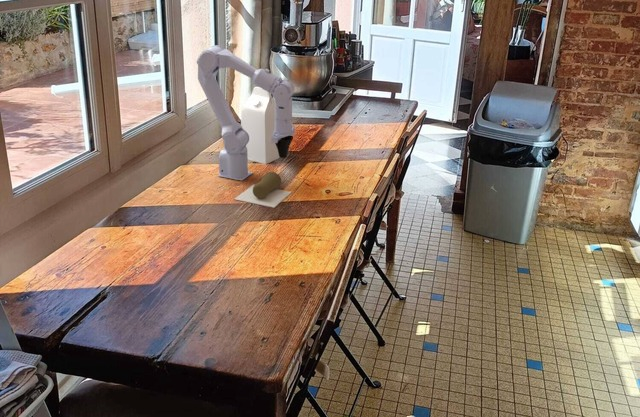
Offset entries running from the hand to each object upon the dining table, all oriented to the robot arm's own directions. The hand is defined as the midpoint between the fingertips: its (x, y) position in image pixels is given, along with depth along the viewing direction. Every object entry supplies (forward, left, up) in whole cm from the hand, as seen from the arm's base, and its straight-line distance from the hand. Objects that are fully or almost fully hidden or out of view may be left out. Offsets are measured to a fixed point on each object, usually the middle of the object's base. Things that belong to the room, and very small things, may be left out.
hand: (283, 157), depth 208 cm
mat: (0, -15, -8) cm, 17 cm away
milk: (-17, +18, -9) cm, 26 cm away
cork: (0, -8, -5) cm, 9 cm away
